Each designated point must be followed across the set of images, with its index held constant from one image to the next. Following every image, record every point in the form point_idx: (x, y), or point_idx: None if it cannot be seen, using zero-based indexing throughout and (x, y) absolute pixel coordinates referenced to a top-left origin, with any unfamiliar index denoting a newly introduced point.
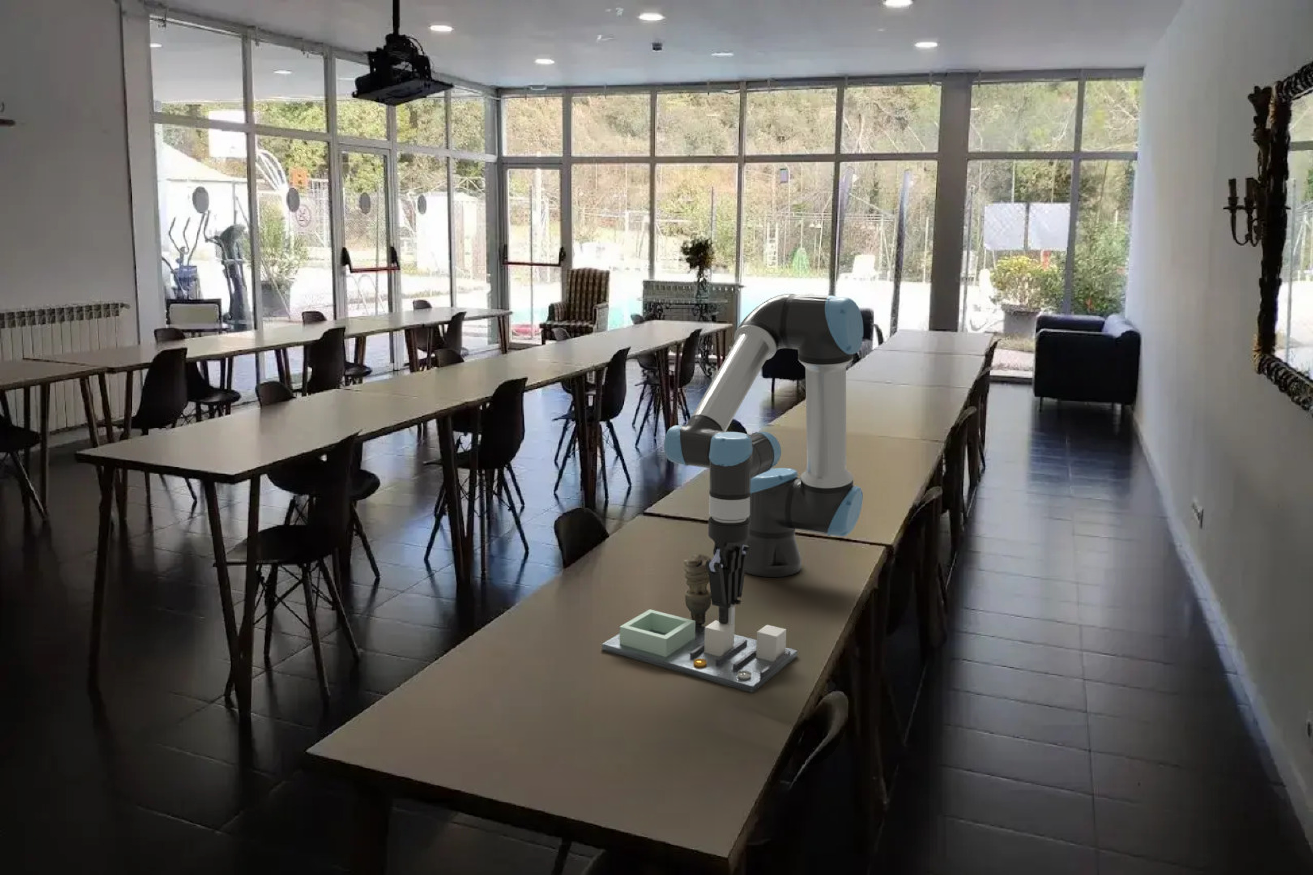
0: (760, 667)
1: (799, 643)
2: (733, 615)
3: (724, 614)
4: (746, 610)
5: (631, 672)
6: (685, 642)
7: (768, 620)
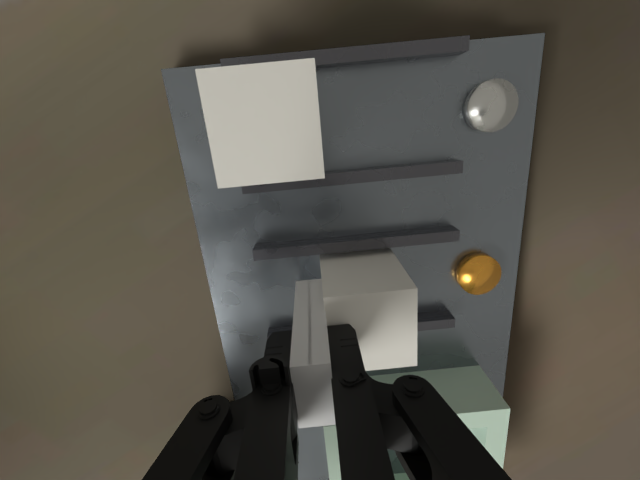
0: (386, 101)
1: (71, 129)
2: (305, 333)
3: (361, 357)
4: (18, 394)
5: (561, 379)
6: (375, 379)
7: (15, 311)
